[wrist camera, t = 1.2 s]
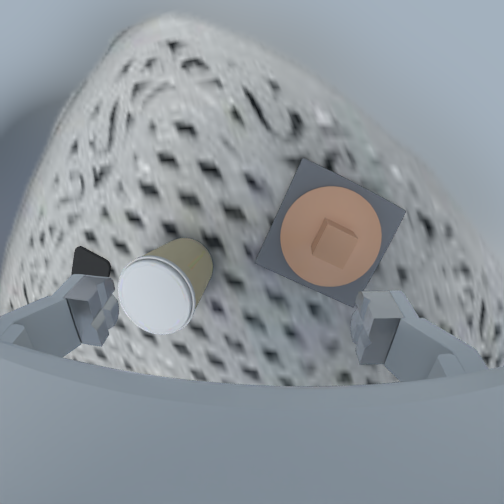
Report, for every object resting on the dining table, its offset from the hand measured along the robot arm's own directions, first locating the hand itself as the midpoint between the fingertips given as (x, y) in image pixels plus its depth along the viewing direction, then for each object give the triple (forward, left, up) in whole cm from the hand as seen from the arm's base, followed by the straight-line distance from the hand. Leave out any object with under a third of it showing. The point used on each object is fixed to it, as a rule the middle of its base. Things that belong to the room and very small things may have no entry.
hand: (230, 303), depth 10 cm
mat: (-8, +2, -31) cm, 32 cm away
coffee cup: (+8, +14, -31) cm, 35 cm away
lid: (-8, +2, -31) cm, 32 cm away
